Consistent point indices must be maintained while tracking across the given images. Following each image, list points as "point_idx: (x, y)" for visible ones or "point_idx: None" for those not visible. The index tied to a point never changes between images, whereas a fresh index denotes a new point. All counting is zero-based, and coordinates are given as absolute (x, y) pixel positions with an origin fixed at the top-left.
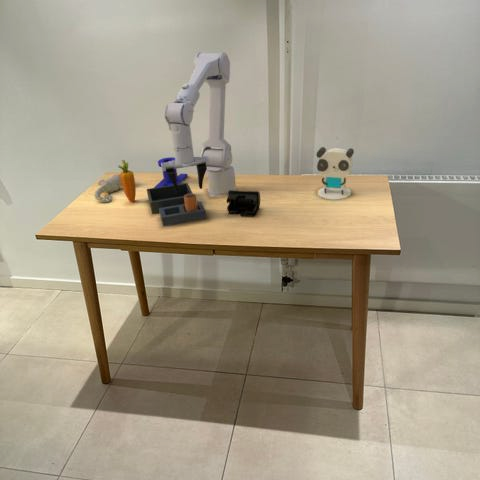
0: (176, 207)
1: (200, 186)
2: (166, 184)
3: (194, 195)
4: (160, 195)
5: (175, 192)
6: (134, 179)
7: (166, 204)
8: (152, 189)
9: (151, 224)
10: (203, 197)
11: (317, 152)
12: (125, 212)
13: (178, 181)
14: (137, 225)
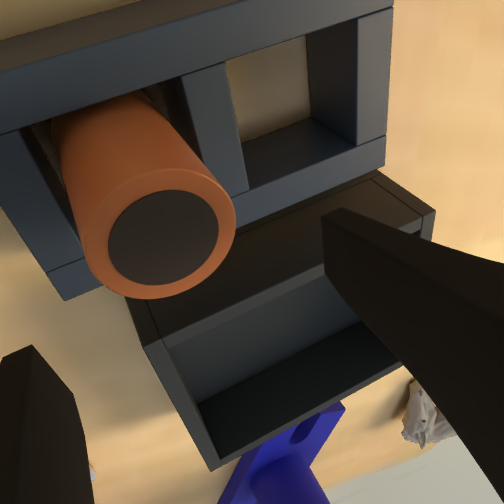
0: (263, 182)
1: (21, 372)
2: (296, 443)
3: (109, 251)
4: (332, 352)
5: (262, 392)
6: (402, 432)
7: None
8: (386, 365)
9: (400, 35)
10: (96, 409)
11: None
12: (476, 202)
13: (248, 478)
14: (473, 31)
